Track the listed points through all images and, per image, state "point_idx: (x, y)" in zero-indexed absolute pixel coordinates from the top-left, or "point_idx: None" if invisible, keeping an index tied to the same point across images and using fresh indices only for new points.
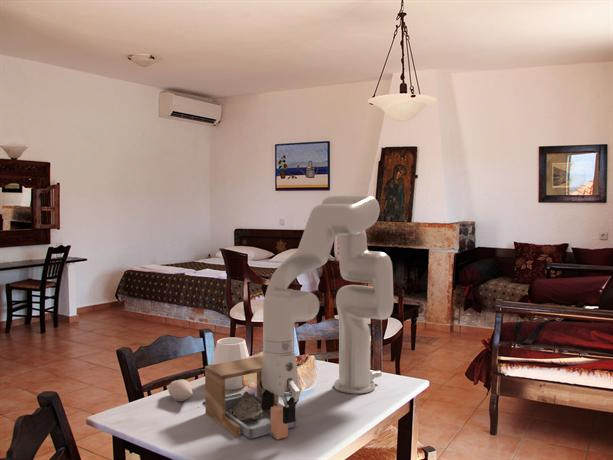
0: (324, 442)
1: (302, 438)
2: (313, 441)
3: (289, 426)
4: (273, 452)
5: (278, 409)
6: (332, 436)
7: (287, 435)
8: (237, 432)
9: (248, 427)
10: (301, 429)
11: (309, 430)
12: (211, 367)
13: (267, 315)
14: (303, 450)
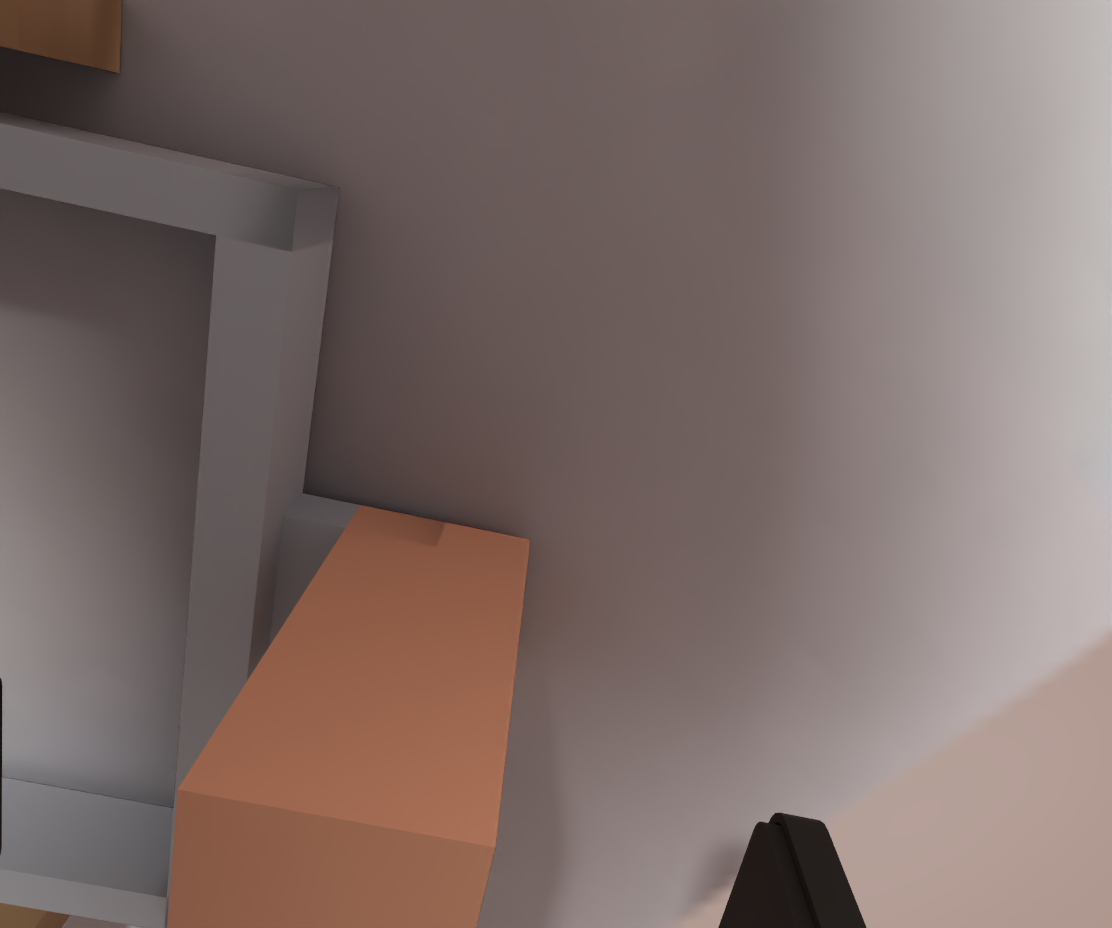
0: (1040, 294)
1: (697, 412)
2: (885, 379)
3: (315, 318)
4: (681, 871)
5: None
6: (1038, 26)
7: (527, 549)
8: (61, 916)
9: (111, 899)
10: (466, 186)
11: (588, 121)
12: None
13: None
14: (930, 646)
